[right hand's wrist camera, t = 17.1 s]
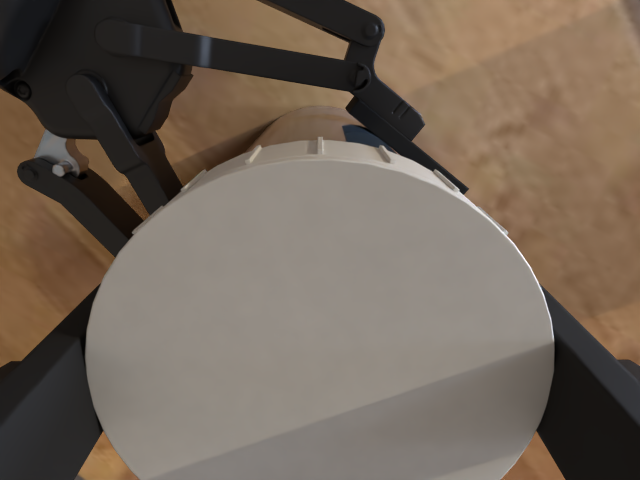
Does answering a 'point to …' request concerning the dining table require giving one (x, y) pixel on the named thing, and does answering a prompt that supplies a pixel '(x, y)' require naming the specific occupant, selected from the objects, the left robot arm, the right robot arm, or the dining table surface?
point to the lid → (319, 327)
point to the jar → (317, 128)
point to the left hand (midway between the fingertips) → (387, 263)
